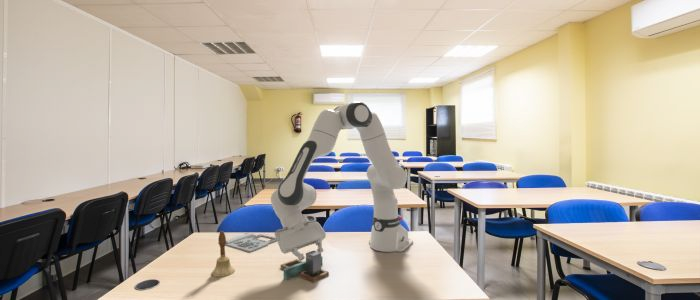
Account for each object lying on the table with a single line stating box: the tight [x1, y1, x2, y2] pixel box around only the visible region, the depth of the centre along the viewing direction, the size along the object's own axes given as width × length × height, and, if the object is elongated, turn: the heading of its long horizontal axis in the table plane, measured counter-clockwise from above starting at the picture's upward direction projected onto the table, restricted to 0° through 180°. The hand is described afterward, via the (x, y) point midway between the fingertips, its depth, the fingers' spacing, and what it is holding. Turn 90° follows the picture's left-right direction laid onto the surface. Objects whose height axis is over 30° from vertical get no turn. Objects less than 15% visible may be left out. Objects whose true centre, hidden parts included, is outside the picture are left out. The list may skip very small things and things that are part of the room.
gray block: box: [305, 250, 322, 277], centre depth 120 cm, size 4×4×8 cm
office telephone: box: [225, 231, 278, 253], centre depth 159 cm, size 23×3×20 cm
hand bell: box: [211, 230, 236, 278], centre depth 123 cm, size 8×8×16 cm
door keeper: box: [280, 255, 330, 283], centre depth 124 cm, size 18×19×4 cm
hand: (312, 255), depth 121 cm, fingers open, 8 cm apart
